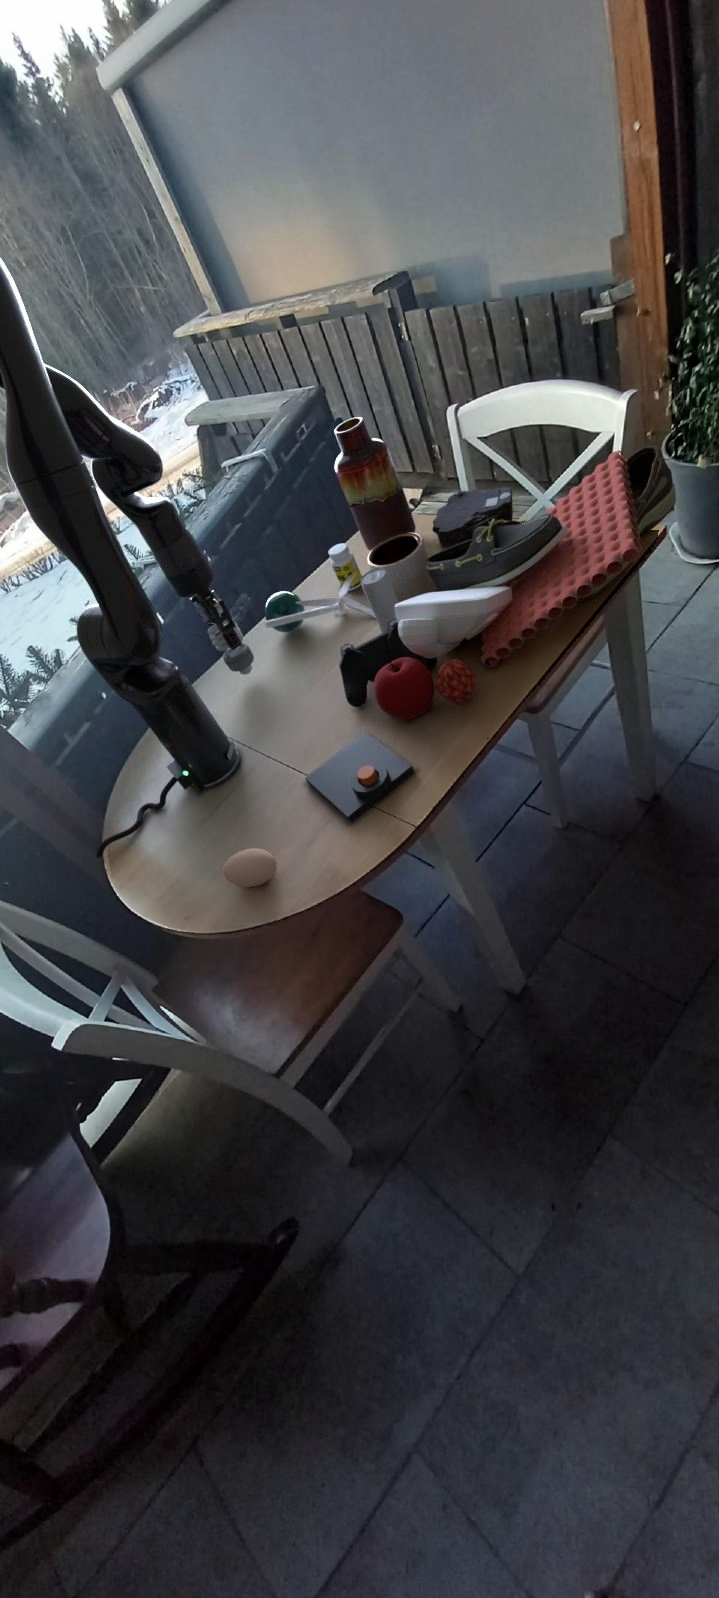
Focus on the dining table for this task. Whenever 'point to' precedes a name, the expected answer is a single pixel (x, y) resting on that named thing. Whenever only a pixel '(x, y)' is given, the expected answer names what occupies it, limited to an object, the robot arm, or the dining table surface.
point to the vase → (371, 484)
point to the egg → (250, 867)
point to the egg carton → (571, 558)
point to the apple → (404, 688)
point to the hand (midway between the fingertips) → (229, 641)
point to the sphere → (283, 609)
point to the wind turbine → (328, 608)
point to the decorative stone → (455, 681)
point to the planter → (403, 564)
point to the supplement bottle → (345, 565)
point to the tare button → (367, 775)
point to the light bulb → (233, 651)
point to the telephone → (448, 617)
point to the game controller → (373, 661)
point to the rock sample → (471, 514)
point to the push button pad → (342, 781)
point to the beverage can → (380, 596)
